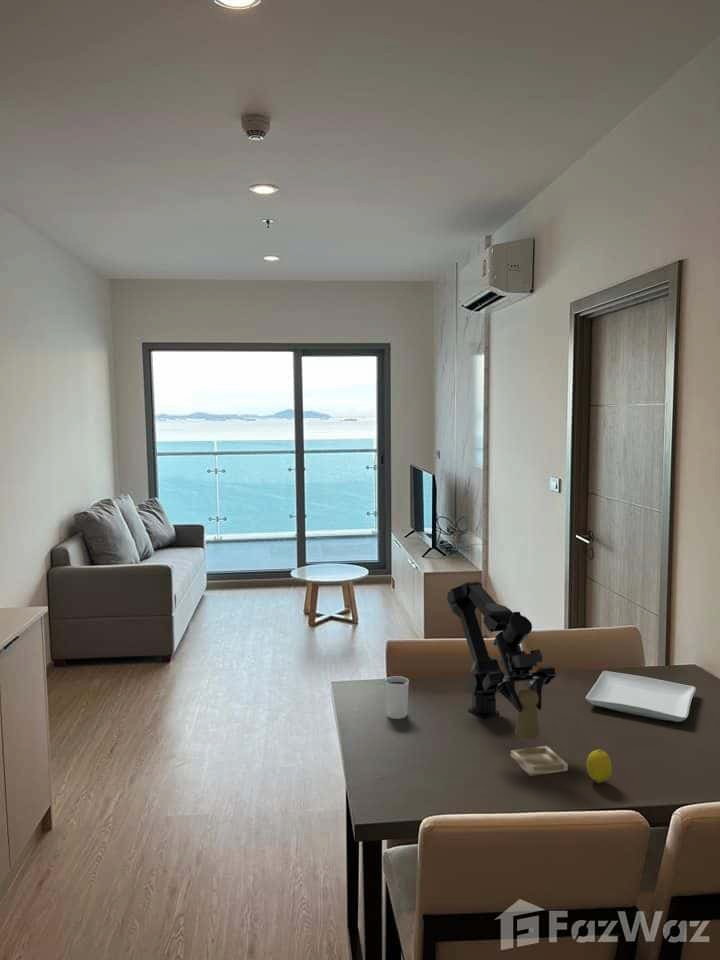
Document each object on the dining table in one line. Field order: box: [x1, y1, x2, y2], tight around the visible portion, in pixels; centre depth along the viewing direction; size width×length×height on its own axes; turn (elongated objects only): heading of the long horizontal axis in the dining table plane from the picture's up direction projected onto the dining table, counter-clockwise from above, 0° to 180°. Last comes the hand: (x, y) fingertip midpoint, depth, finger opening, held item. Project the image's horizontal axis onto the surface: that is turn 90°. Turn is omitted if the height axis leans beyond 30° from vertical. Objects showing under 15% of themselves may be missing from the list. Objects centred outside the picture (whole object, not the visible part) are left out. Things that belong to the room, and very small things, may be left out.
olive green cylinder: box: [514, 688, 540, 740], centre depth 181 cm, size 6×6×11 cm
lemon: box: [585, 748, 613, 784], centre depth 167 cm, size 6×6×8 cm
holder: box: [510, 745, 569, 777], centre depth 176 cm, size 10×10×2 cm
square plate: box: [585, 670, 697, 723], centre depth 214 cm, size 27×27×4 cm
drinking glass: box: [384, 675, 410, 720], centre depth 205 cm, size 7×7×10 cm
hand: (530, 710), depth 180 cm, fingers closed on olive green cylinder, 5 cm apart
